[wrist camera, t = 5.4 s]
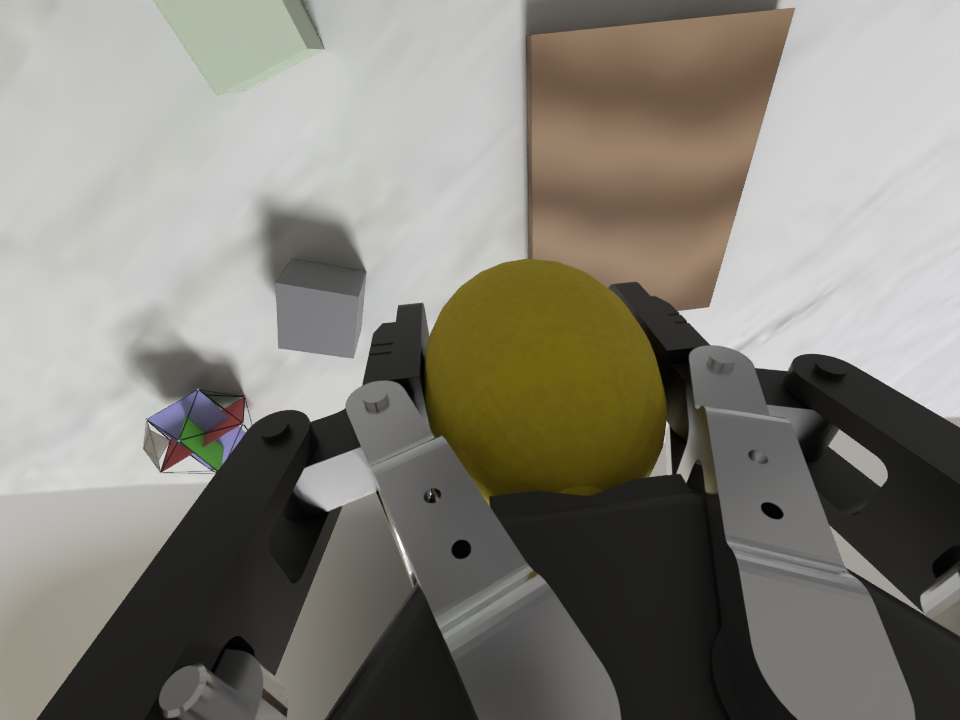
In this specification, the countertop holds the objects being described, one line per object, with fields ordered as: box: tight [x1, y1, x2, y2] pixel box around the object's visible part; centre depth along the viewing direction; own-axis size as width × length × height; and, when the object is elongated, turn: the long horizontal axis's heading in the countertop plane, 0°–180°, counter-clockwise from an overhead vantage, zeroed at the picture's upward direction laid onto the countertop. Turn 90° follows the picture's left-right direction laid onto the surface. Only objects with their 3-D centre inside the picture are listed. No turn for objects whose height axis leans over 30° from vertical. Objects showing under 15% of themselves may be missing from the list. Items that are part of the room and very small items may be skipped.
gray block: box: [276, 259, 366, 358], centre depth 29 cm, size 5×5×4 cm
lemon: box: [424, 259, 667, 506], centre depth 10 cm, size 6×6×8 cm
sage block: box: [153, 0, 325, 96], centre depth 19 cm, size 5×5×4 cm
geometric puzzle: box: [143, 389, 252, 474], centre depth 33 cm, size 7×7×8 cm
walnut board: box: [526, 8, 795, 311], centre depth 27 cm, size 18×14×2 cm
